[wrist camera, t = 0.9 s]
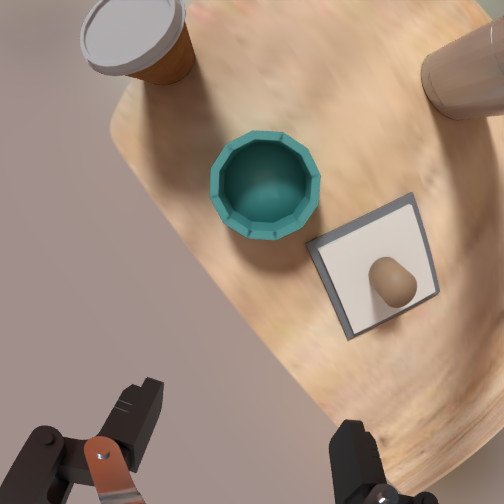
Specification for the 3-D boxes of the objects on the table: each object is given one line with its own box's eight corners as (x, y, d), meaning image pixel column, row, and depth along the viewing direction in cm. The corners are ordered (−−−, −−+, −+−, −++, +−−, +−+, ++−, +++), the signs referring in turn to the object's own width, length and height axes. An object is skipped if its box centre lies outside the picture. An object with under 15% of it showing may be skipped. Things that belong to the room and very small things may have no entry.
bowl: (285, 120, 30) (289, 113, 25) (326, 203, 32) (337, 211, 27) (202, 162, 31) (191, 163, 27) (244, 243, 34) (241, 256, 29)
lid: (408, 204, 31) (433, 212, 26) (432, 289, 34) (454, 308, 28) (317, 248, 33) (327, 265, 28) (352, 330, 36) (364, 357, 30)
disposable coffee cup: (204, 97, 29) (172, 65, 18) (125, 100, 30) (66, 80, 18) (213, 24, 27) (190, -31, 15) (136, 30, 27) (88, -11, 15)
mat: (410, 192, 31) (412, 192, 31) (438, 290, 34) (440, 291, 34) (305, 243, 34) (305, 244, 33) (347, 337, 37) (348, 339, 36)
